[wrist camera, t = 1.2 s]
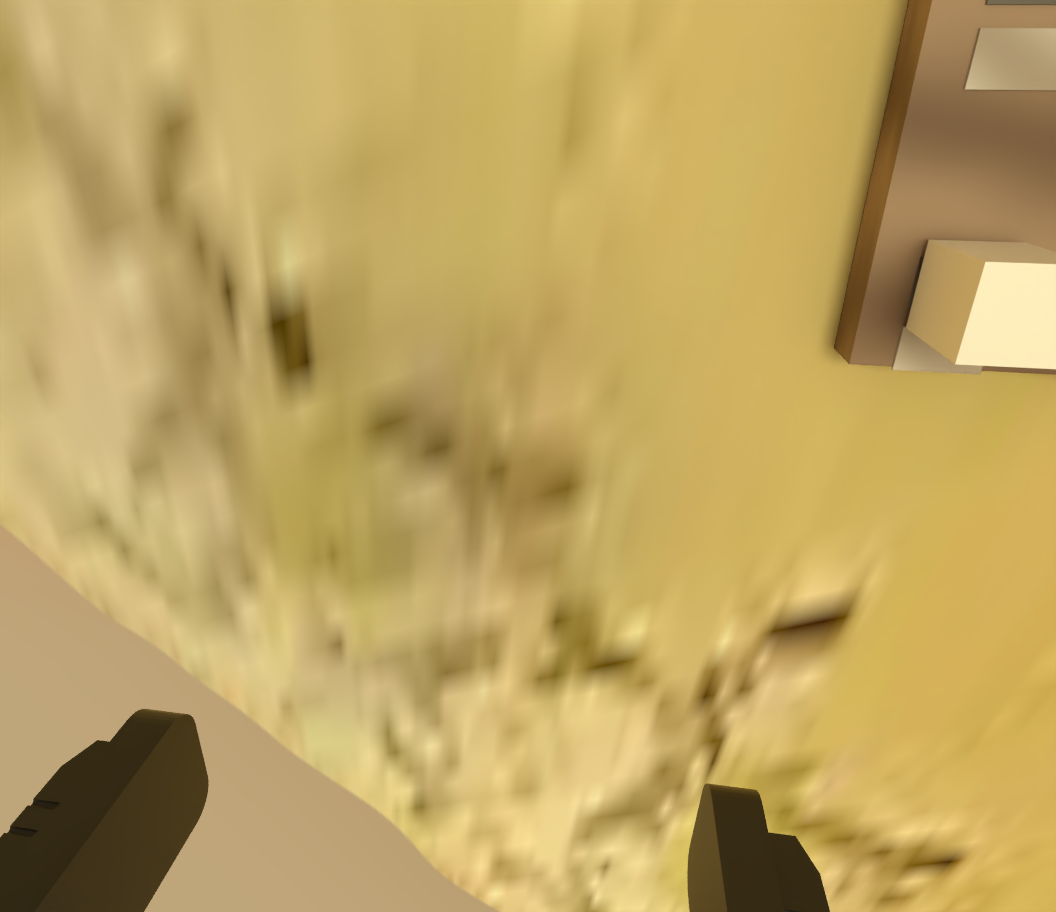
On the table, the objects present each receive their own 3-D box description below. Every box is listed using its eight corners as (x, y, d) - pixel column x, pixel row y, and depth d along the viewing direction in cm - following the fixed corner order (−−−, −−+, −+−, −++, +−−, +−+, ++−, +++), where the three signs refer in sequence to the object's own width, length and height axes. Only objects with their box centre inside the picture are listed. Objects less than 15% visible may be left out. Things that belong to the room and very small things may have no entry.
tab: (928, 239, 23) (985, 261, 19) (1024, 242, 23) (1101, 265, 19) (905, 328, 24) (954, 364, 21) (996, 331, 24) (1062, 369, 20)
